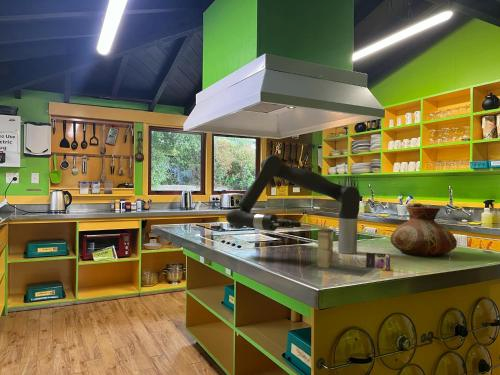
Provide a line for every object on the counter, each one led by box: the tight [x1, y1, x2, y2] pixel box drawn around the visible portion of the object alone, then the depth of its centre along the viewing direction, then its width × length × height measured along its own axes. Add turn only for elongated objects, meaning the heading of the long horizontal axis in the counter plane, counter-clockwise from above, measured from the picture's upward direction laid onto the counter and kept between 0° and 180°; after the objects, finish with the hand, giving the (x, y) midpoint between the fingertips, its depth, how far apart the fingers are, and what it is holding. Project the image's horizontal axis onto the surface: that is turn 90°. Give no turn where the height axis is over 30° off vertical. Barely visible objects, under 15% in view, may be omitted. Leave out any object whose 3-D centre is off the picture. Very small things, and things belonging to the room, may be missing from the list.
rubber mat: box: [303, 261, 374, 277], centre depth 150 cm, size 16×24×1 cm
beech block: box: [317, 228, 334, 268], centre depth 153 cm, size 6×4×15 cm, turn 146°
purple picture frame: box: [365, 252, 391, 272], centre depth 153 cm, size 7×5×9 cm
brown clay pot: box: [389, 202, 458, 258], centre depth 189 cm, size 30×30×25 cm
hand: (300, 225), depth 159 cm, fingers closed
